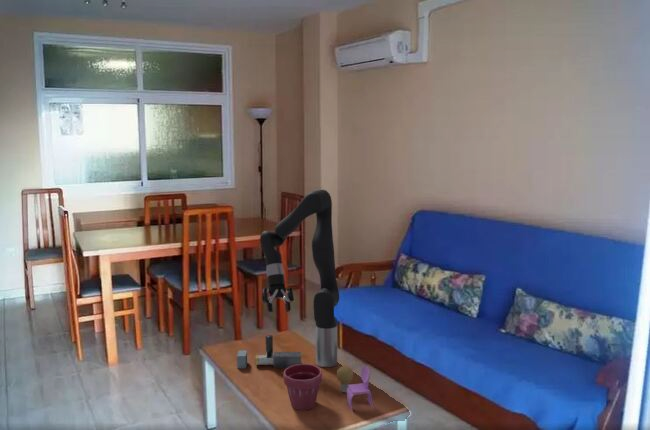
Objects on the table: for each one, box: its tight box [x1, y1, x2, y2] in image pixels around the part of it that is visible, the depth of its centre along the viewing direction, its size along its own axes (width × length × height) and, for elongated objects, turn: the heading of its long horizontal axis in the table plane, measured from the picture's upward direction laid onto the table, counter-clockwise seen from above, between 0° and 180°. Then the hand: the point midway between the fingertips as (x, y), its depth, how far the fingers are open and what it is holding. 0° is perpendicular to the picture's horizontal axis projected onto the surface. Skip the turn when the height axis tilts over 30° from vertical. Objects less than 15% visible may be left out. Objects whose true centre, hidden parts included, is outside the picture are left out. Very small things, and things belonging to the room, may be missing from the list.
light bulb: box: [336, 365, 354, 393], centre depth 214 cm, size 6×6×10 cm
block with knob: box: [254, 334, 274, 366], centre depth 237 cm, size 18×3×12 cm, turn 90°
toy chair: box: [346, 365, 375, 412], centre depth 202 cm, size 8×9×15 cm
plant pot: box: [283, 363, 323, 411], centre depth 204 cm, size 14×14×13 cm
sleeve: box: [273, 351, 302, 369], centre depth 238 cm, size 12×5×5 cm, turn 90°
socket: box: [236, 349, 248, 369], centre depth 238 cm, size 4×6×6 cm, turn 0°
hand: (279, 312), depth 239 cm, fingers open, 8 cm apart
